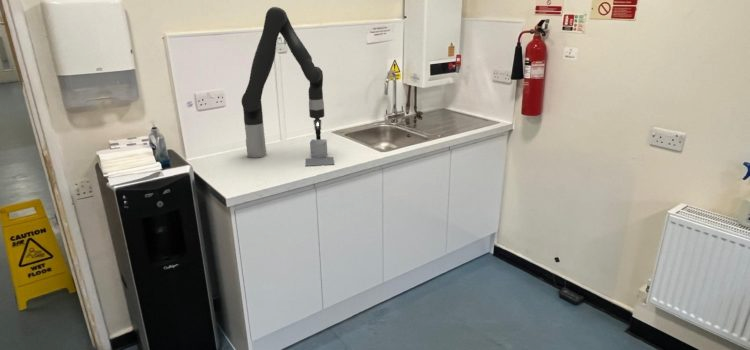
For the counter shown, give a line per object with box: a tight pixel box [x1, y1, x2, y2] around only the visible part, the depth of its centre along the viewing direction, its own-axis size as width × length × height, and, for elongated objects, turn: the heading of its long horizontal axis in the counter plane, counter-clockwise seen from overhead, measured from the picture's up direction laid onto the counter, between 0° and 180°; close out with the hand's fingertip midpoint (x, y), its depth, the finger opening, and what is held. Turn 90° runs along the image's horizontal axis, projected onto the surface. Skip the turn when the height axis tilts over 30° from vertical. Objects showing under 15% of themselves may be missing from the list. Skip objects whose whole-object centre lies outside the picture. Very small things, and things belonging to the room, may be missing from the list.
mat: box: [304, 156, 335, 167], centre depth 229 cm, size 14×11×1 cm
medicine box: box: [309, 138, 328, 158], centre depth 236 cm, size 8×4×9 cm, turn 86°
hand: (318, 140), depth 240 cm, fingers closed
